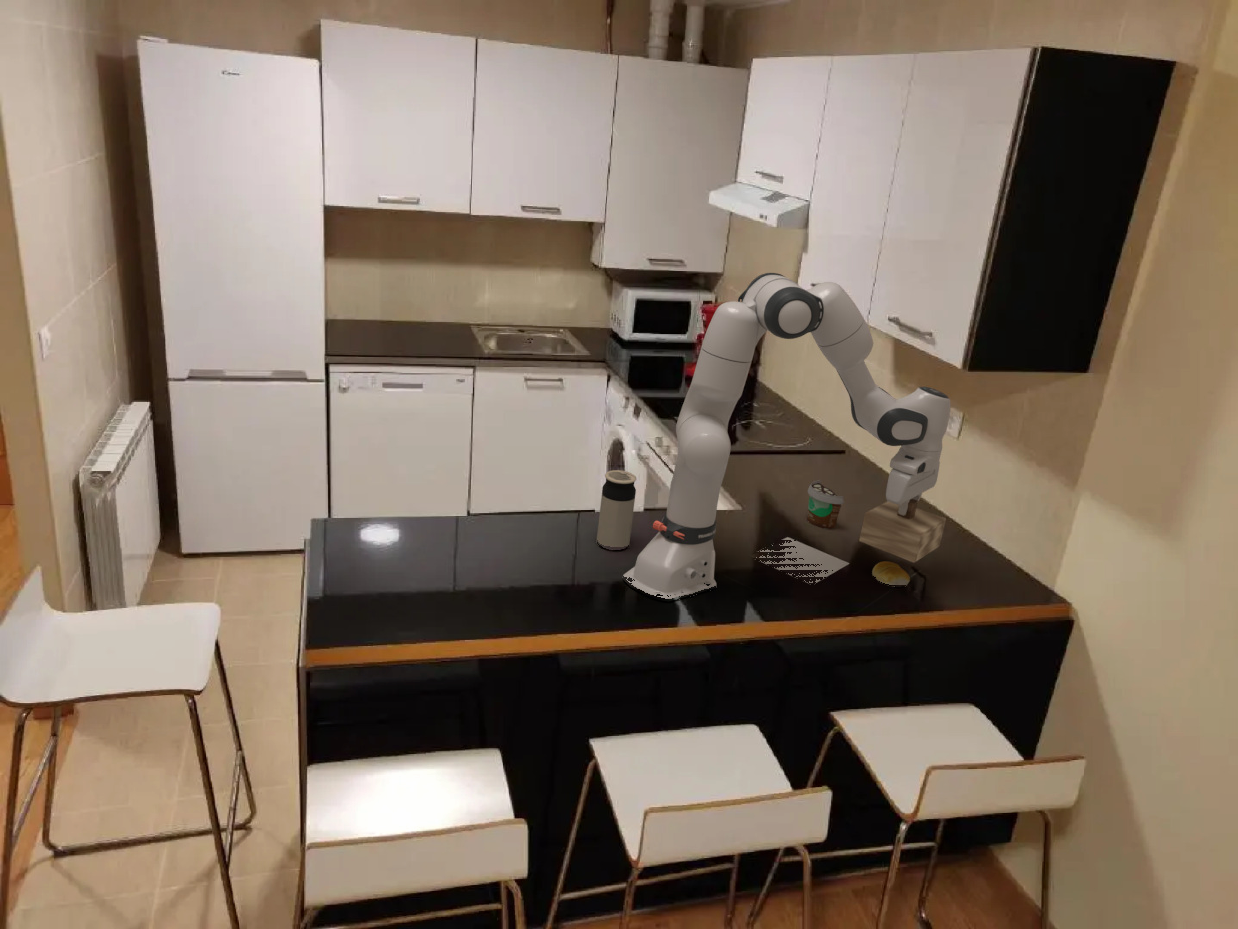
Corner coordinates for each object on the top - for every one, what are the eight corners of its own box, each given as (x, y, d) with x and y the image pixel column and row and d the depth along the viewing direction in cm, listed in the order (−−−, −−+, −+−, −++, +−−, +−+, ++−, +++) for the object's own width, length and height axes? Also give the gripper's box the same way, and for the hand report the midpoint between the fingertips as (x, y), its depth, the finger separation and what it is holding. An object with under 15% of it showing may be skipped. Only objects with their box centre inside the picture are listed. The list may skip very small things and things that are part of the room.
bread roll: (894, 570, 228) (898, 556, 226) (913, 588, 220) (916, 573, 218) (864, 571, 226) (867, 556, 224) (882, 589, 218) (885, 574, 216)
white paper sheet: (812, 586, 214) (812, 584, 214) (748, 557, 225) (748, 556, 225) (849, 565, 227) (849, 563, 227) (787, 538, 238) (787, 537, 238)
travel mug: (610, 554, 219) (618, 484, 212) (589, 541, 224) (597, 472, 218) (635, 547, 224) (644, 479, 217) (615, 534, 229) (623, 467, 223)
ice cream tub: (793, 513, 254) (800, 480, 251) (812, 512, 257) (819, 479, 253) (817, 532, 244) (824, 498, 240) (837, 531, 246) (844, 497, 242)
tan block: (914, 562, 210) (924, 517, 206) (859, 540, 219) (868, 497, 215) (939, 546, 220) (950, 503, 216) (885, 526, 229) (895, 484, 225)
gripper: (925, 444, 221) (913, 497, 226) (886, 461, 206) (874, 517, 211) (950, 452, 217) (937, 505, 222) (913, 470, 203) (900, 527, 207)
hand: (906, 511), depth 217 cm, fingers closed on tan block, 3 cm apart
